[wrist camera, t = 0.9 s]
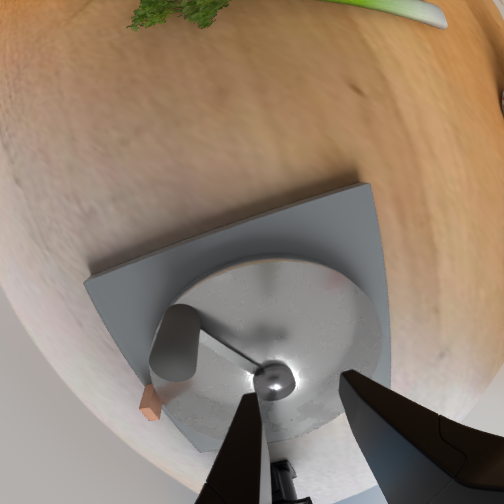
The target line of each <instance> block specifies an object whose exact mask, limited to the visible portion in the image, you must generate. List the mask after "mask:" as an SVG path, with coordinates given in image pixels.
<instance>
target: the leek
mask: <svg viewBox="0 0 504 504" xmlns="http://www.w3.org/2000/svg"><path fill="white" fill-rule="evenodd" d="M176 1H179V0H174V2H176ZM188 1H189V0H183V1H182V3H172V2H173V1H172V0H169V1H167V0H141V3H140V4H142V5H139V7H140V8H142V9H141V10H140V9H137V10H134V14H135V15H137V16H133V17H132V18H135V19H134V20H133V21H132V22H135V23H133V24H132V25H131V26H128V27H131V28H132V27H133V28H132V30H133V31H137V30H138V29H139V27H137V25H138V24H139V23H140V22H144V21H147V20H148V21H147V22H145V28H147V27H150V26H152V25H155V24H156V23H159V24H160V23H161V24H162V23H165V22H166V21H165V18H169V17H170V16H169V15H170V14H172V13H170V12H173V11H175V12H173V13H177V12H182V11H183V13H182V14H181V15H184V14H186V15H185V17H186V19H187V18H189V22H192V21H195V22H194V23H201V24H200V25H199V27H202V28H206V27H207V26H208V25H209V26H210V25H211V24H212V22H214V21H215V20H214V21H211V22H209V21H210V20H211V18H212V17H213V16H214V17H215V16H216V15H217V14H216V13H217V10H220V9H223V7H227V6H228V5H229V4H227V5H225V4H226V3H227V2H229V1H231V0H191V1H190V2H188ZM320 1H328V2H335V3H342V4H348V5H353V6H358V7H363V8H368V9H373V10H377V11H382V12H386V13H390V14H394V15H398V16H402V17H405V18H409V19H412V20H416V21H419V22H422V23H425V24H428V25H431V26H434V27H436V28H439V29H442V30H445V29H446V27H447V26H448V25H447V21H446V18H445V16H444V14H443V12H442V10H441V9H440V8H439V7H438V6H437V5H434V4H431V3H427V2H424V1H420V0H320ZM152 4H153V5H152ZM223 4H224V5H223ZM168 5H169V6H168ZM177 5H181V6H177ZM212 5H213V6H212ZM222 5H223V6H222ZM165 6H166V7H165ZM220 6H221V7H220ZM167 7H168V8H167ZM171 7H175V8H181V9H180V10H174V9H175V8H173V9H170V10H168V9H169V8H171ZM195 7H196V8H195ZM218 7H219V8H218ZM161 10H162V11H161ZM168 14H169V15H168ZM154 15H156V16H154ZM181 15H180V16H181ZM180 16H178V17H180ZM188 16H189V17H188ZM136 17H138V18H136ZM185 17H184V18H185ZM143 18H146V19H143ZM162 18H163V19H162ZM160 19H161V20H160ZM212 19H213V18H212ZM184 20H185V19H184ZM138 22H139V23H138ZM136 24H137V25H136ZM139 25H140V26H144V23H142V24H139ZM209 26H208V27H209ZM128 27H126V28H128ZM199 27H198V28H199ZM202 28H201V29H202Z"/></svg>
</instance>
